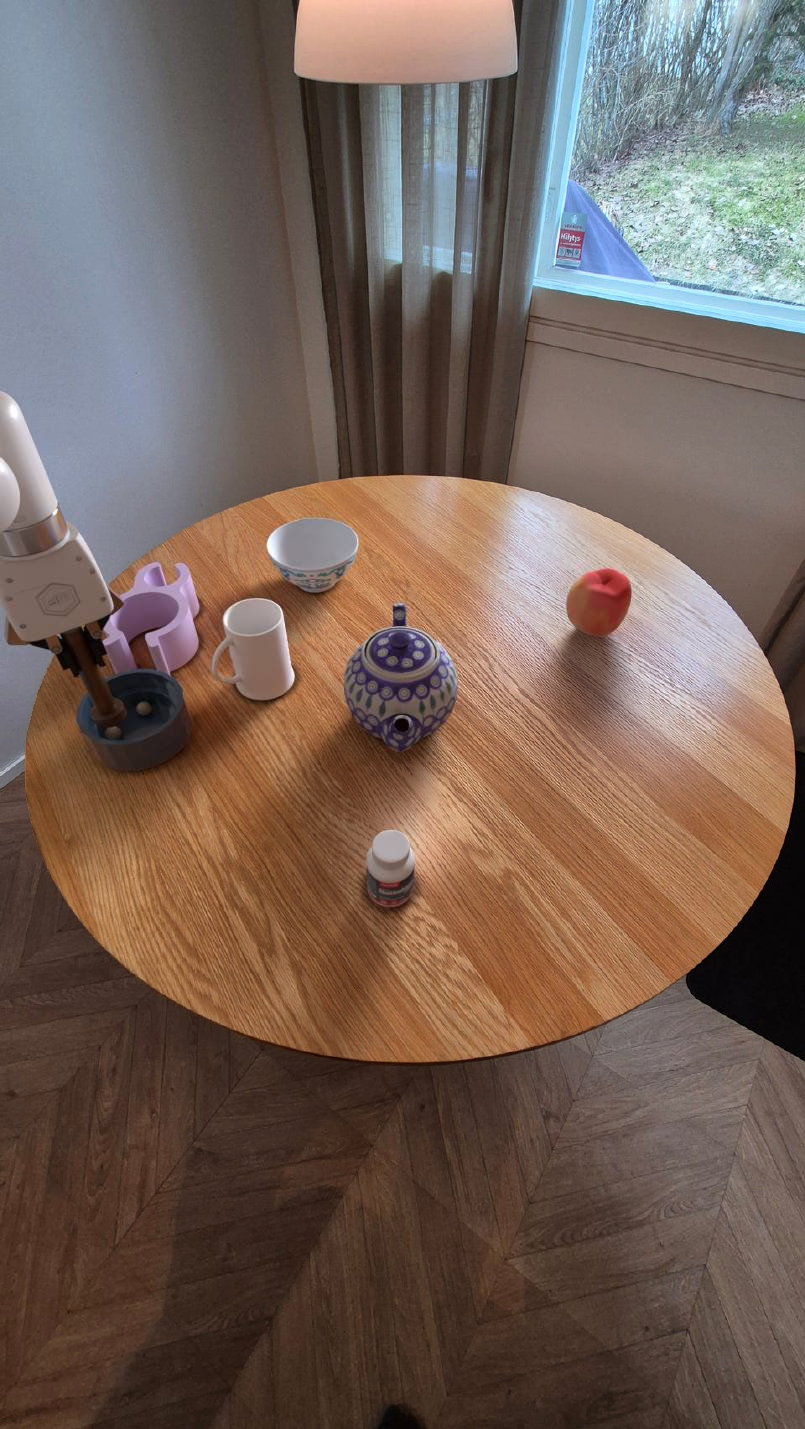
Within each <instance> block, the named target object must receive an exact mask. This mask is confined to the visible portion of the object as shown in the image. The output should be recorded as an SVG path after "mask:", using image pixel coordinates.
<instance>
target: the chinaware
mask: <svg viewBox="0 0 805 1429" xmlns="http://www.w3.org/2000/svg"><path fill="white" fill-rule="evenodd" d="M265 545H266V546H265V547H266V552H267V555H268V557H269V559H270V561H271V563H272V565H273V566H274V568H275V569H276V571H277V572H278V573H279V574H280V575H281V577H283V579H285V580H286V581H287V582H289V583H291V584H293V585H295V586H298V587H299V588H300V589H301V590H303V591H304V592H308V593H322V592H326V591H328V590H330V589H331V588H333V586H335V584H336V583H337V582H339V581H340V580H342V579H343V578H344V577H345V576H347V574H348V572H349V571H350V570H351V568H352V566H353V564H354V562H355V560H356V556H357V554H358V550H359V538H358V535H357V534H356V531H355V530H354V529H352V527H350V526H349V525H348V524H346V523H344V522H342V521H339V520H336V519H331V518H325V517H305V518H299V519H295V520H292V521H289V522H285V523H284V524H282V525H280V526H279V527H277V528H276V529H274V530H273V531H272V532H271V534H270V535H268V538H267V540H266V544H265Z"/></svg>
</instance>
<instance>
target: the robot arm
mask: <svg viewBox="0 0 805 1429" xmlns="http://www.w3.org/2000/svg"><path fill="white" fill-rule="evenodd" d="M29 429H30V428H29V427H28V425H27V422H26V418H25V417H24V415H23V412H22V410H21V408H20V406H19V404H18V403H17V401H16V400H15V399H14V398H13V397H12V396H11V395H9V394H8V393H7V392H4V391H2V390H0V605H1V607H2V610H3V612H4V614H5V618H4V619H5V620H4V633H3V636H4V639H5V641H6V643H7V645H9V646H28V645H31V646H32V647H35V648H39V649H43V650H47V651H50V653H52V654H54V655H55V657H56V658H57V661H58V663H59V665H60V667H61V669H62V671H66V670H70V673H71V675H72V676H73V678H79V676H80V673H79V671H78V669H77V667H76V665H75V663H74V661H73V659H72V656H71V654H70V652H69V650H68V648H67V646H66V645H65V644H64V642H63V640H62V638H61V636H60V633H63V632H65V631H68V630H71V629H74V628H77V627H80V626H82V629H83V631H84V633H85V635H86V638H87V641H88V643H89V645H90V647H91V650H92V652H93V654H94V656H95V659H96V661H97V663H98V665H99V667H100V668H104V667H107V664H106V661H105V659H104V656H108V655H107V651H106V649H105V647H104V644H103V642H102V641H103V639H102V637H103V635H104V634H103V631H104V630H103V629H104V627H105V625H106V624H107V622H108V620H109V619H110V616H111V615H113V614H114V613H116V612H117V611H118V610H119V609H120V608H122V607H123V605H124V602H123V601H122V599H121V598H120V595H119V594H117V593H116V592H115V591H114V590H113V589H112V588H111V587H110V586H109V585H108V584H106V582H105V579H104V577H103V575H102V572H101V569H100V567H99V565H98V564H97V561H96V559H95V557H94V555H93V553H92V552H91V550H90V548H89V546H88V544H87V543H86V540H85V539H84V537H83V536H82V535H81V533H80V531H79V529H77V527H75V526H74V525H73V524H72V523H71V522H69V521H67V520H66V519H65V516H64V514H63V511H62V509H61V506H60V503H59V501H58V499H57V496H56V495H55V492H54V489H53V487H52V484H51V482H50V479H49V476H48V473H47V471H46V469H45V466H44V463H43V461H42V459H41V457H40V453H39V452H38V449H37V447H36V444H35V442H34V439H33V437H32V435H31V432H30V430H29Z"/></svg>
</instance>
